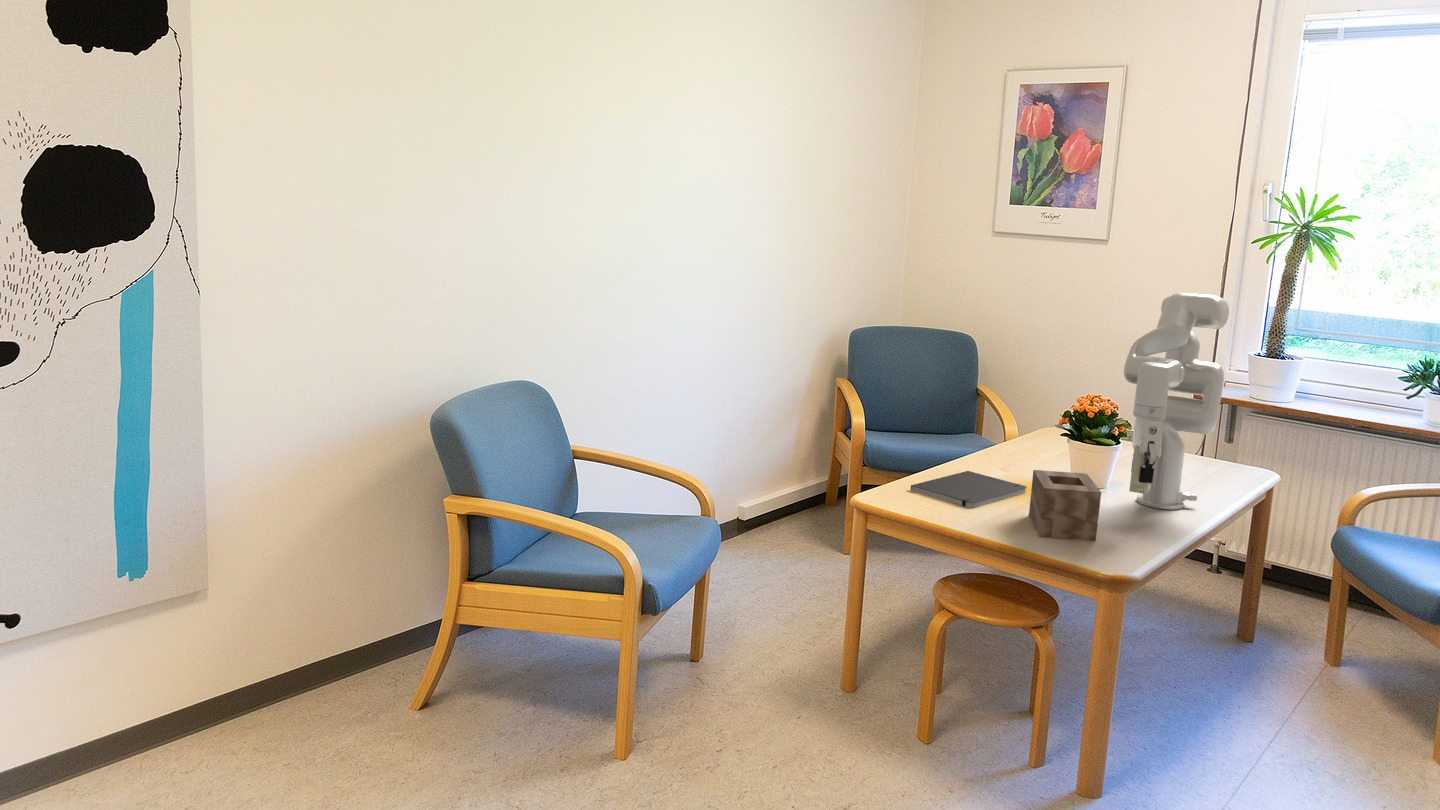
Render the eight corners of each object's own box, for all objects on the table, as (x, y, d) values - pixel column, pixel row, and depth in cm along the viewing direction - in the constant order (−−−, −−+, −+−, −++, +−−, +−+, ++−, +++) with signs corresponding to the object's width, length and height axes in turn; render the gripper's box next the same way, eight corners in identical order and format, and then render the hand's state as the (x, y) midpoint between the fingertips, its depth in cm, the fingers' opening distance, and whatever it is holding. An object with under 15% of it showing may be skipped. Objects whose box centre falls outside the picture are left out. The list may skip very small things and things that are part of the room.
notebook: (967, 477, 320) (910, 492, 302) (967, 470, 320) (910, 484, 301) (1028, 493, 304) (971, 510, 286) (1028, 486, 304) (972, 502, 286)
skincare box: (1146, 495, 262) (1152, 448, 259) (1128, 492, 264) (1134, 446, 261) (1151, 488, 267) (1156, 443, 264) (1133, 485, 269) (1139, 440, 267)
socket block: (1081, 519, 280) (1086, 473, 277) (1095, 541, 262) (1101, 492, 260) (1028, 515, 282) (1033, 469, 279) (1039, 536, 264) (1044, 488, 261)
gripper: (1174, 419, 252) (1165, 489, 256) (1155, 404, 269) (1148, 469, 273) (1142, 418, 253) (1134, 487, 257) (1126, 402, 270) (1118, 467, 274)
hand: (1141, 477), depth 265 cm, fingers closed on skincare box, 7 cm apart
